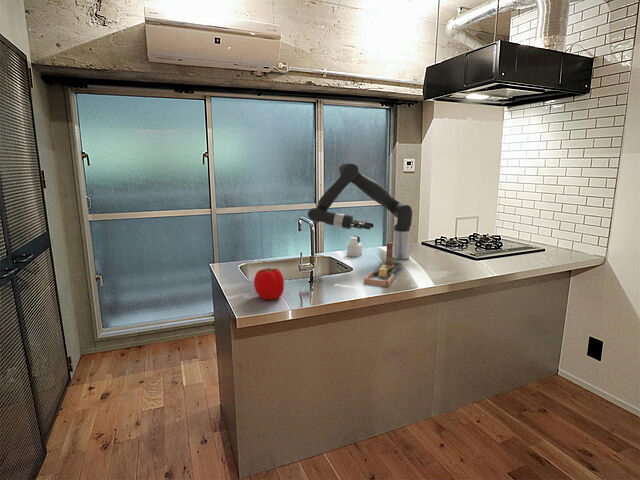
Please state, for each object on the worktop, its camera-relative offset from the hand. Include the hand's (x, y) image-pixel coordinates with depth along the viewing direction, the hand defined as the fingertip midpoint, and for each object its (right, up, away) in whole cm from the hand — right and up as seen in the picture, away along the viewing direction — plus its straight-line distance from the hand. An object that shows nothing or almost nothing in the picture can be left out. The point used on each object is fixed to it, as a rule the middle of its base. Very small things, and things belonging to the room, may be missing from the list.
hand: (371, 226), depth 209 cm
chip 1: (+5, -26, -10) cm, 28 cm away
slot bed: (+8, -25, -2) cm, 26 cm away
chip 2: (+7, -25, -6) cm, 26 cm away
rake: (+9, -23, +1) cm, 25 cm away
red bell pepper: (-50, -33, -37) cm, 70 cm away
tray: (+1, -28, -18) cm, 33 cm away
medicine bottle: (-6, -17, +36) cm, 40 cm away
